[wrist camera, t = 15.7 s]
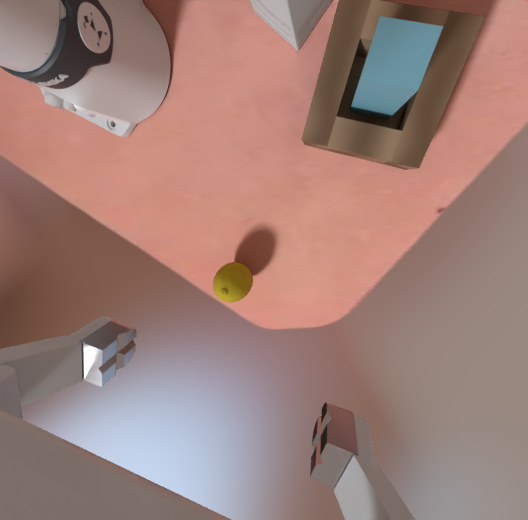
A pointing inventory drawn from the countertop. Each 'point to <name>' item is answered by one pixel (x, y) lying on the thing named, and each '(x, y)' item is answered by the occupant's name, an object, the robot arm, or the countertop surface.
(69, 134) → the countertop surface
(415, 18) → the well block
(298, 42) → the supplement box
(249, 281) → the lemon
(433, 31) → the blue square pillar
